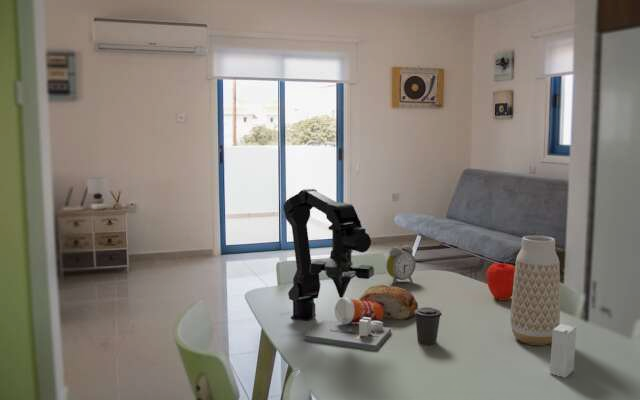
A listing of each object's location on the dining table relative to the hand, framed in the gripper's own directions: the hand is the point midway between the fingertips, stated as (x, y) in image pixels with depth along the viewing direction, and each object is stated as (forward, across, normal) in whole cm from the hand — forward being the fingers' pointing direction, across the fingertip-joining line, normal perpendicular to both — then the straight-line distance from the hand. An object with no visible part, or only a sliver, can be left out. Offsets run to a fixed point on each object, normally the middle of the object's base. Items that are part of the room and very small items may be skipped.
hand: (341, 297), depth 185 cm
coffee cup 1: (+9, +6, +17) cm, 20 cm away
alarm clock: (+12, 0, +68) cm, 69 cm away
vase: (+12, +54, +18) cm, 58 cm away
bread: (+12, +7, +28) cm, 32 cm away
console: (+12, +2, 0) cm, 12 cm away
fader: (+10, +8, -1) cm, 13 cm away
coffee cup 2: (+12, +25, +4) cm, 28 cm away
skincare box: (+12, +62, -5) cm, 64 cm away
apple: (+12, +41, +59) cm, 73 cm away
